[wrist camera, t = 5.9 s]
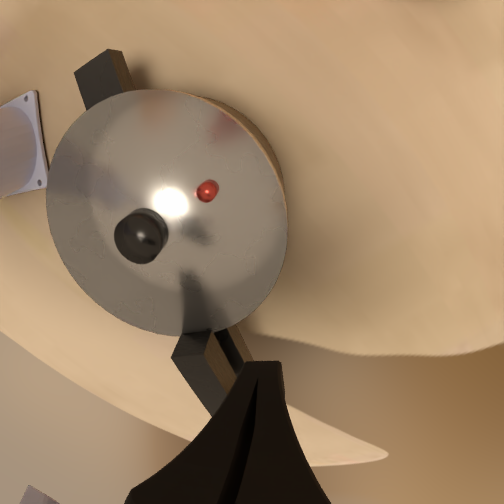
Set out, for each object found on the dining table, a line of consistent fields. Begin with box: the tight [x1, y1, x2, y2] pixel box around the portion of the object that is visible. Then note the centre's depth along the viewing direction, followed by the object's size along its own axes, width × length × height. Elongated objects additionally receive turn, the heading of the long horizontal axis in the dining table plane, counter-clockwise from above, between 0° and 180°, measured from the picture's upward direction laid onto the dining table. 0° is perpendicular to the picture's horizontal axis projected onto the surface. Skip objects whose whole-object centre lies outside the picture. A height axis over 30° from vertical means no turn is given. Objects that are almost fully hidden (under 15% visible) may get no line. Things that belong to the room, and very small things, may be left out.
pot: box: [74, 49, 285, 377], centre depth 18 cm, size 13×22×4 cm, turn 4°
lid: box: [46, 89, 288, 416], centre depth 15 cm, size 14×19×3 cm
